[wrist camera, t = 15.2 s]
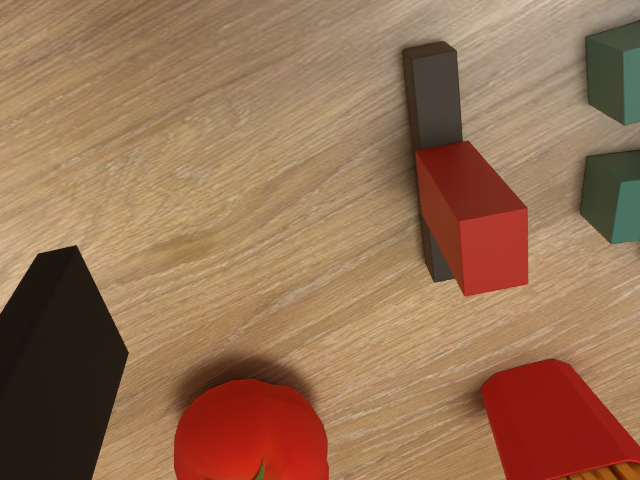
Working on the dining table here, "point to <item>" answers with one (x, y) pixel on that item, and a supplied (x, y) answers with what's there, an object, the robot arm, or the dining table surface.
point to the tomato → (250, 435)
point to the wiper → (459, 185)
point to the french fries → (556, 427)
